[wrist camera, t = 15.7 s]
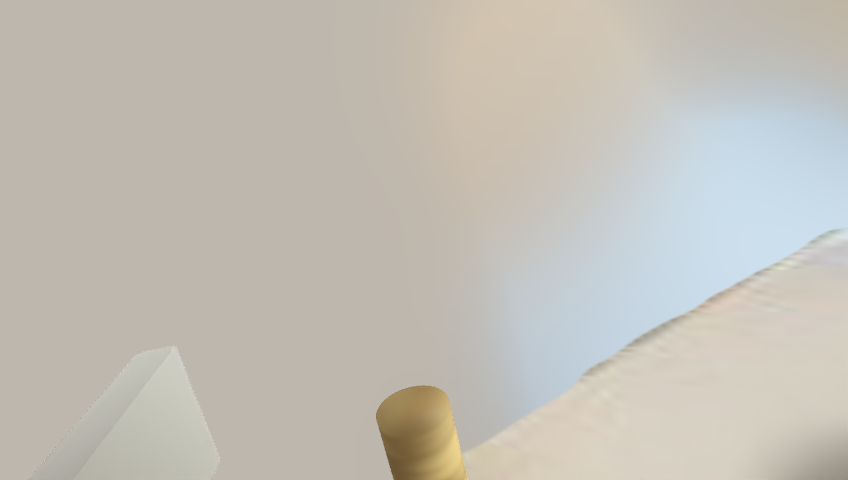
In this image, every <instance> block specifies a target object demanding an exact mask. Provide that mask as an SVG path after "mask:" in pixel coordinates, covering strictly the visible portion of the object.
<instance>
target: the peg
mask: <svg viewBox="0 0 848 480" xmlns="http://www.w3.org/2000/svg"><path fill="white" fill-rule="evenodd" d="M376 419H377V423H378V426H379V430H380V433H381V437H382V440H383V444H384V447H385V451H386V454H387V458H388V461H389V465H390V468H391V472H392V475H393V479H394V480H467V476H466V471H465V467H464V463H463V459H462V454H461V450H460V446H459V441H458V437H457V433H456V429H455V424H454V420H453V416H452V411H451V407H450V403H449V399H448V396H447V395H446V393H445V392H444V391H442V390H440V389H438V388H436V387H432V386H415V387H409V388H406V389H403V390H400V391H398V392H396V393H394V394H392V395H391V396H389V397H388V398H387V399H386V400H385V401H383V403H382V404H381V405H380V406H379V408H378V410H377V413H376Z"/></svg>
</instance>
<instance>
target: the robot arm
mask: <svg viewBox="0 0 848 480" xmlns="http://www.w3.org/2000/svg"><path fill="white" fill-rule="evenodd" d="M220 460H221V459H220V457H219V455H218V452H217V450H216V447H215V444H214V442H213V439H212V437H211V434H210V432H209V429H208V426H207V424H206V421H205V419H204V416H203V414H202V411H201V409H200V406H199V404H198V401H197V398H196V396H195V393H194V391H193V388H192V386H191V383H190V381H189V378H188V376H187V373H186V371H185V368H184V365H183V363H182V360H181V358H180V355H179V353H178V350H177V348H176V346H170V347H165V348H160V349H155V350H150V351H145V352H140V353H137V354H136V355H135V356H134V358H133V359H132V360H131V361H130V362H129V363H128V365H127V366H126V367H125V368H124V369H123V370H122V371H121V373H120V374H119V375H118V376H117V377H116V379H115V380H114V381H113V382H112V383H111V384H110V385H109V387H108V388H107V389H106V390H105V391H104V392H103V394H102V395H101V396H100V397H99V398H98V399H97V400H96V402H95V403H94V404H93V405H92V406H91V407H90V409H89V410H88V411H87V412H86V413H85V414H84V416H83V417H82V418H81V419H80V420H79V421H78V423H77V424H76V425H75V426H74V427H73V428H72V430H71V431H70V432H69V433H68V434H67V435H66V436H65V438H64V439H63V440H62V441H61V442H60V443H59V445H58V446H57V447H56V448H55V449H54V450H53V452H52V453H51V454H50V455H49V456H48V457H47V458H46V460H45V461H44V462H43V463H42V464H41V465H40V467H39V468H38V469H37V470H36V471H35V472H34V474H33V475H32V476H31V477H30V478H29V479H28V480H212V478H213V476H214V474H215V471H216V469H217V467H218V465H219V462H220Z"/></svg>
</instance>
